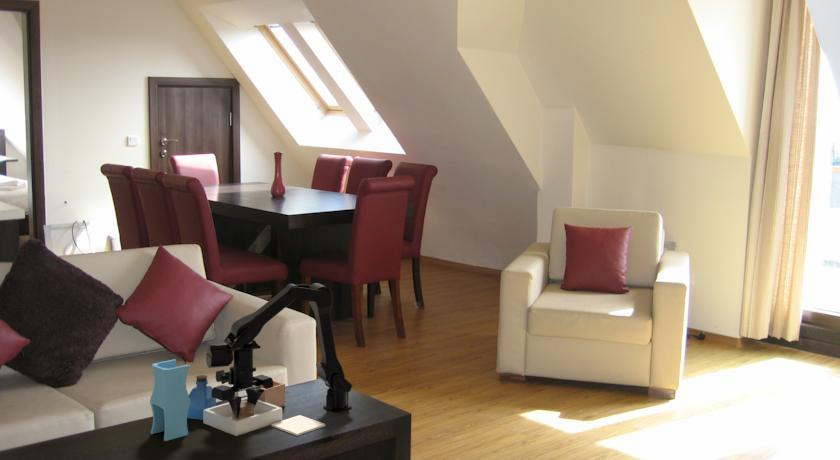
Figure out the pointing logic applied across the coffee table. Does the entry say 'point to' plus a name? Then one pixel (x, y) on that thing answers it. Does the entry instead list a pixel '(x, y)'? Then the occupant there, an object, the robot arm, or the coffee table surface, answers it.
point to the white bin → (223, 419)
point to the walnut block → (244, 410)
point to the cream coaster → (298, 425)
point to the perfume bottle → (200, 398)
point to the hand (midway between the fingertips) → (243, 415)
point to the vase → (170, 400)
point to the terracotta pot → (274, 394)
